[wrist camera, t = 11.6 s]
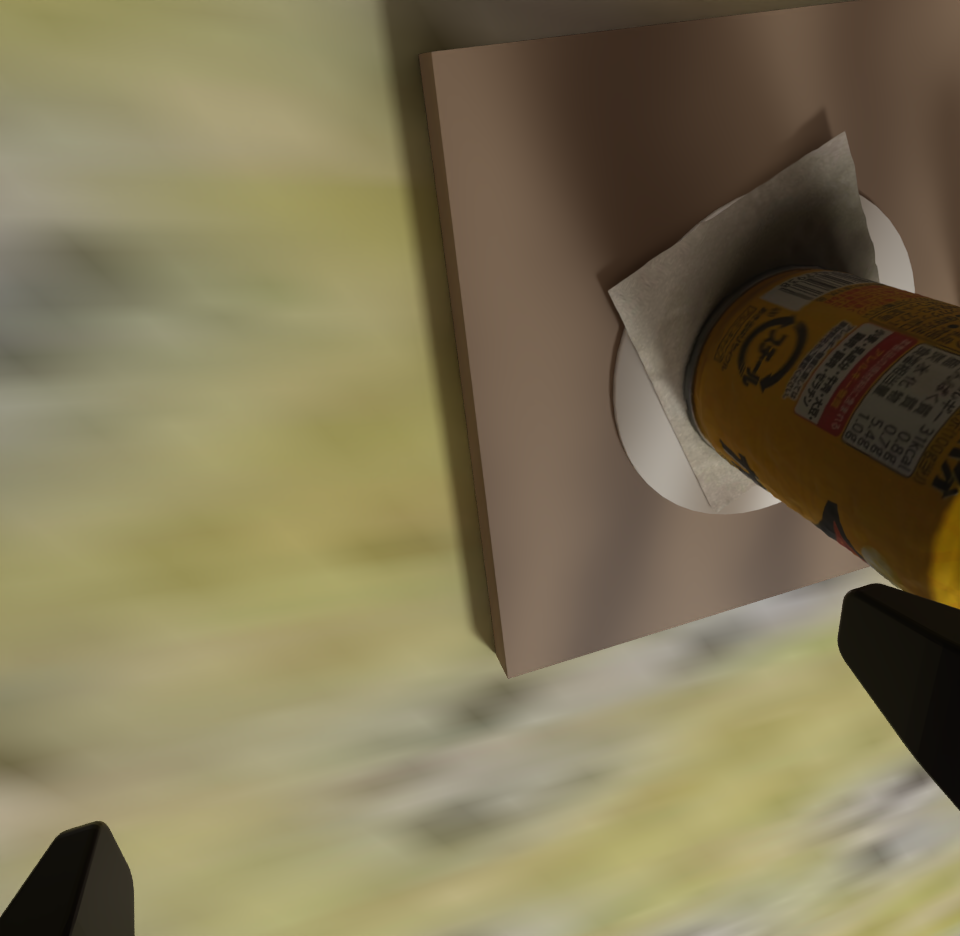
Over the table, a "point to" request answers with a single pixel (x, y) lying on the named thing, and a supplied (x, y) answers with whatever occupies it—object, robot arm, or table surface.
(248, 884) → the table surface
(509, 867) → the table surface
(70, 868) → the robot arm
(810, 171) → the condiment
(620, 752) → the table surface
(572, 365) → the locating plate
